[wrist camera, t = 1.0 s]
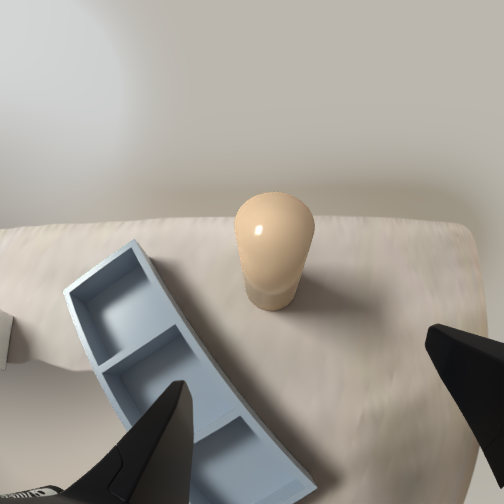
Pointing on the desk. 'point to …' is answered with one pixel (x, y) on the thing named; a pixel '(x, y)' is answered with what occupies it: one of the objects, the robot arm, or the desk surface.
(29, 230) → the desk surface
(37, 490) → the beverage can
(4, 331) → the medicine bottle
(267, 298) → the pin
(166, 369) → the blue-grey compartment tray
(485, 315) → the desk surface
